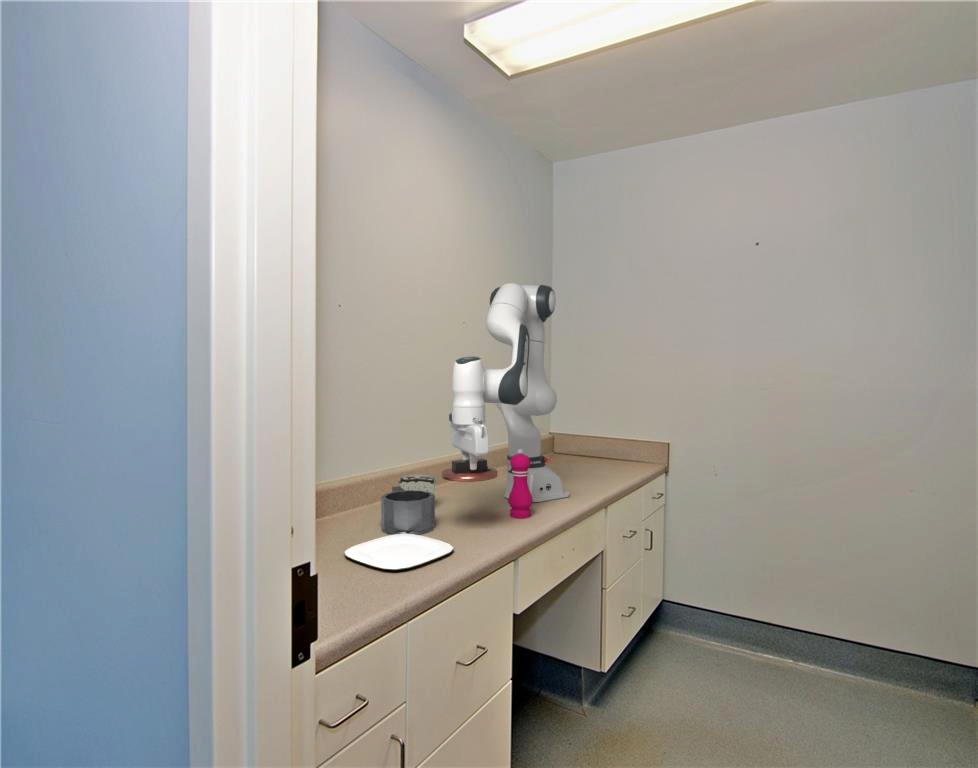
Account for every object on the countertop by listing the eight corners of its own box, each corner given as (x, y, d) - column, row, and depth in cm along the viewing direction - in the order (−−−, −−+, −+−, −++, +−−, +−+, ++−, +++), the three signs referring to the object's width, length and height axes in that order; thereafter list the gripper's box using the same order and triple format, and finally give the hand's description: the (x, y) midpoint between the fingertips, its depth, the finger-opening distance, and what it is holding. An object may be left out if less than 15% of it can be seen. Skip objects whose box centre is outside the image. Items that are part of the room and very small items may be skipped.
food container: (440, 505, 179) (440, 474, 178) (436, 510, 173) (436, 477, 172) (402, 504, 180) (402, 473, 180) (397, 509, 174) (397, 477, 174)
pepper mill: (515, 511, 170) (515, 446, 170) (536, 514, 166) (536, 448, 166) (503, 516, 164) (503, 449, 163) (525, 520, 160) (525, 451, 160)
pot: (419, 512, 169) (418, 483, 169) (440, 532, 149) (440, 499, 148) (372, 517, 164) (372, 487, 164) (388, 538, 143) (387, 503, 143)
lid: (485, 469, 160) (485, 454, 160) (506, 478, 146) (505, 462, 146) (435, 473, 155) (434, 458, 154) (451, 483, 141) (451, 467, 141)
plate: (403, 536, 147) (403, 530, 147) (464, 553, 133) (464, 546, 133) (333, 558, 130) (333, 551, 130) (394, 580, 116) (394, 572, 116)
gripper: (494, 419, 141) (495, 473, 142) (467, 413, 160) (468, 461, 161) (471, 421, 139) (472, 475, 140) (446, 414, 158) (447, 462, 159)
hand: (469, 467), depth 150 cm, fingers closed on lid, 3 cm apart
